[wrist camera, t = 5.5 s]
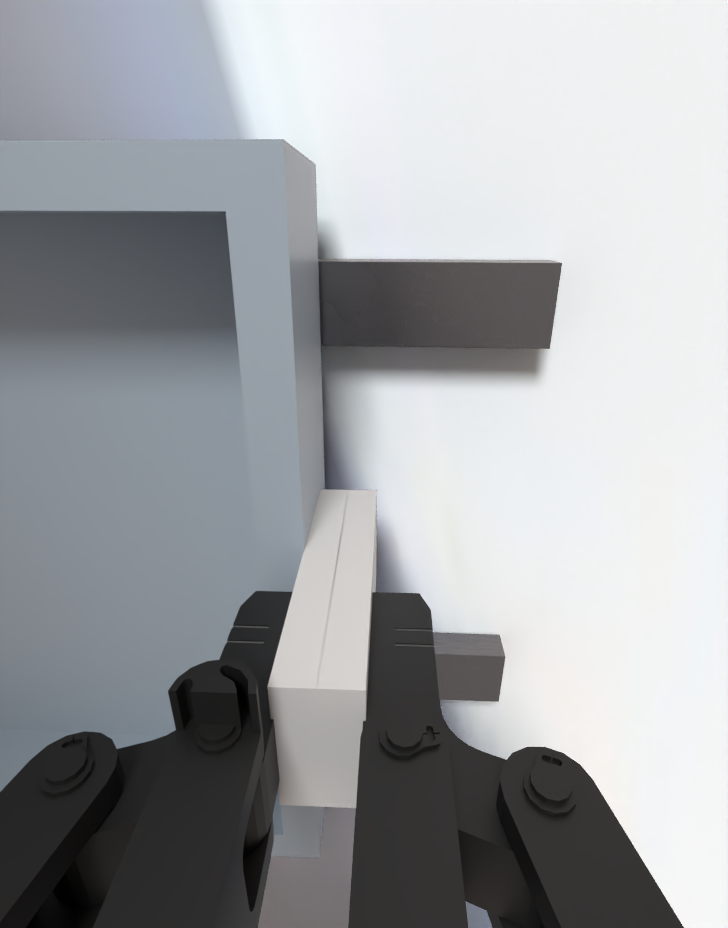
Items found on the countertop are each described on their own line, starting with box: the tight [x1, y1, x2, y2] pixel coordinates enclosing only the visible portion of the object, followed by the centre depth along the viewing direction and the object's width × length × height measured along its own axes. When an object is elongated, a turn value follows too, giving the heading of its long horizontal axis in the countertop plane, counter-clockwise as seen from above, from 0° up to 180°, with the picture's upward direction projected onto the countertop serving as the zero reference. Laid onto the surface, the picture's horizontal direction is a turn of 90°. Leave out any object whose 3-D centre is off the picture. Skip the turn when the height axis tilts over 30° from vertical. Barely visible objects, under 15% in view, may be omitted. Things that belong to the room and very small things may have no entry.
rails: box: [318, 259, 562, 701], centre depth 16 cm, size 14×31×2 cm, turn 90°
